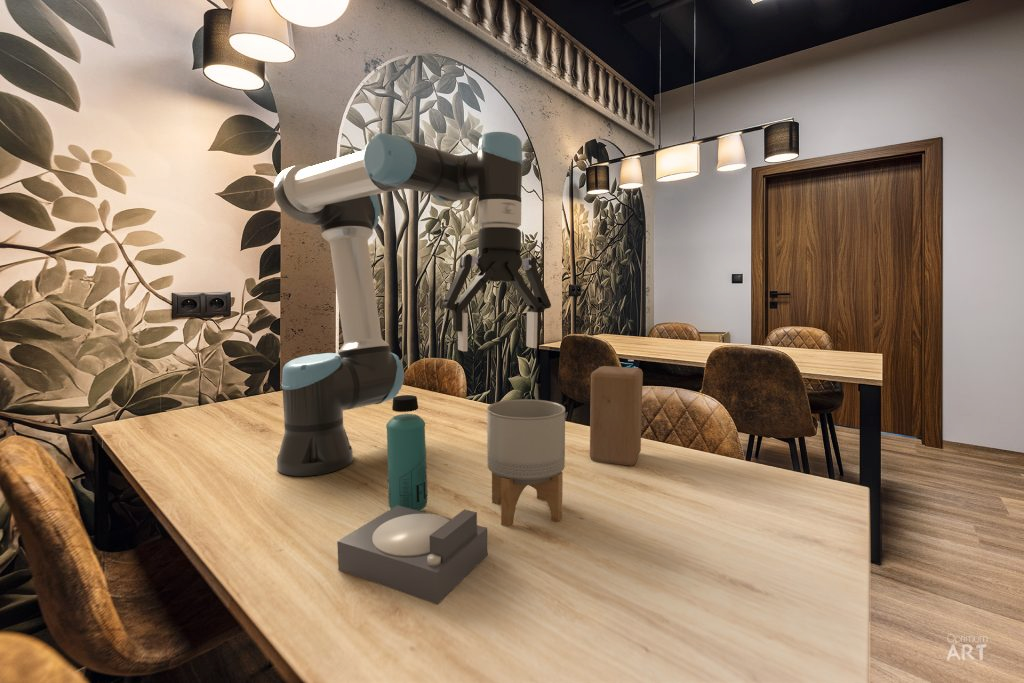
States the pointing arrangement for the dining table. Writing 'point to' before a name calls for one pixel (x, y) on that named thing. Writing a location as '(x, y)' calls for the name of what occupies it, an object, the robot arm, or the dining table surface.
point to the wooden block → (616, 414)
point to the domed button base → (415, 551)
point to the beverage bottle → (406, 456)
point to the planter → (526, 453)
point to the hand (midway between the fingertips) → (498, 348)
